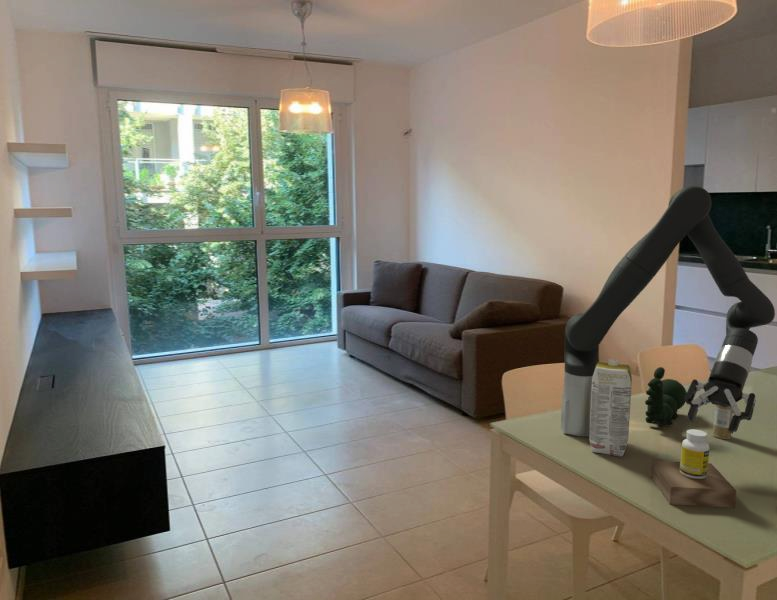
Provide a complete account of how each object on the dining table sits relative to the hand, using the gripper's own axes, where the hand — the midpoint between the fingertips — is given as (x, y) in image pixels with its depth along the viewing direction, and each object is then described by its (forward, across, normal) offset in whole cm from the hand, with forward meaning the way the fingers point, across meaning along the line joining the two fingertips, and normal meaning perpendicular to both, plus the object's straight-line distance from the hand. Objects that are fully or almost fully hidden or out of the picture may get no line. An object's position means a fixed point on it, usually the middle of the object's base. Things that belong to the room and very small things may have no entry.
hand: (710, 426), depth 139 cm
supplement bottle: (+14, +1, -4) cm, 15 cm away
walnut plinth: (+17, +1, -2) cm, 17 cm away
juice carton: (+12, -22, +6) cm, 26 cm away
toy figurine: (-10, -20, +30) cm, 37 cm away
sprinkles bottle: (-9, -3, +28) cm, 29 cm away
